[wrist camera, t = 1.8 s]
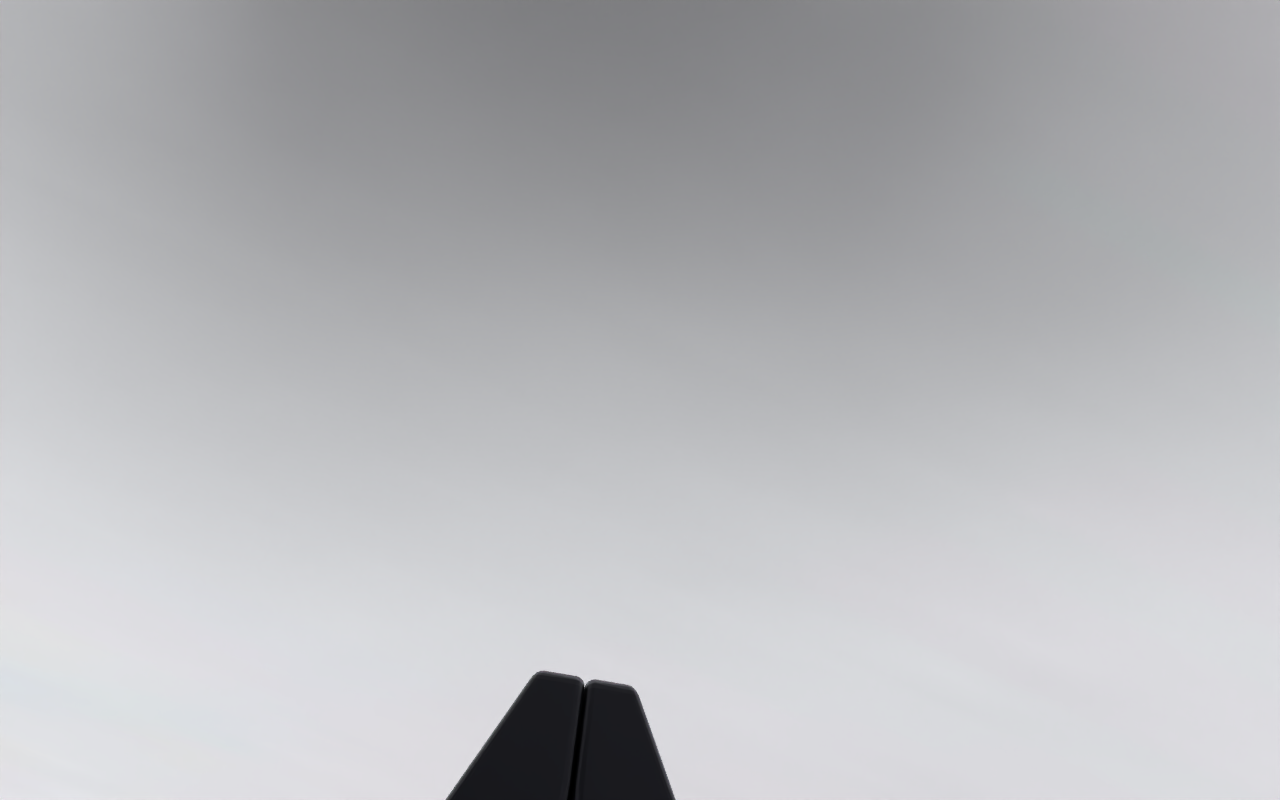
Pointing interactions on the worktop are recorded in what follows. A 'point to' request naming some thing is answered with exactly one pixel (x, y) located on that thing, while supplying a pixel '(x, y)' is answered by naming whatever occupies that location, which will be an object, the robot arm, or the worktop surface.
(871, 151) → the worktop surface
